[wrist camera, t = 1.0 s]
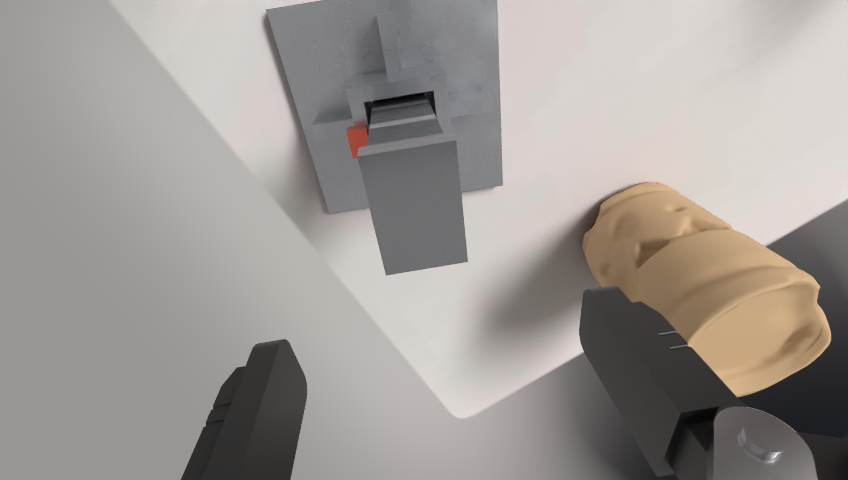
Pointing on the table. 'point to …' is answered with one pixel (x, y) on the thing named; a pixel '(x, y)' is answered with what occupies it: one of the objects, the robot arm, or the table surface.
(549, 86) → the table surface
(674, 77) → the table surface
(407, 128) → the column
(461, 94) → the stand
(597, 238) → the container
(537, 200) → the table surface
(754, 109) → the table surface
